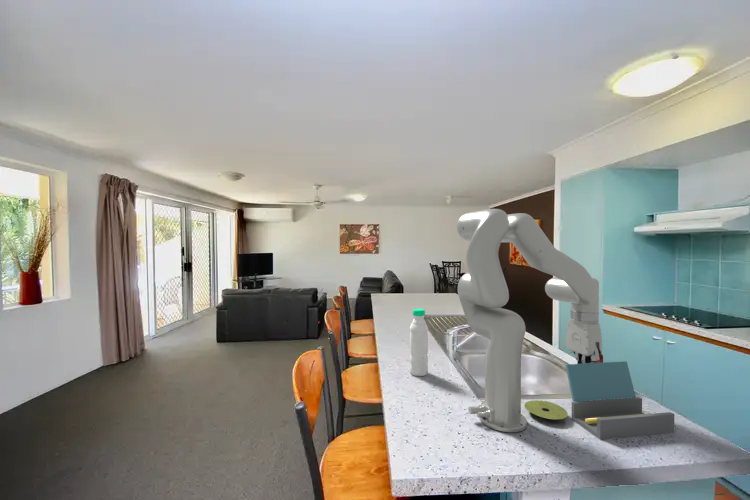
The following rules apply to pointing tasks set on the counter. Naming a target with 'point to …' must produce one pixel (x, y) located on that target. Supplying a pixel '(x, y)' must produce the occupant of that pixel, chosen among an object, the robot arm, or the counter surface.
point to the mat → (546, 409)
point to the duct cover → (600, 381)
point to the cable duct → (620, 418)
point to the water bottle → (418, 344)
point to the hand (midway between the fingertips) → (583, 374)
